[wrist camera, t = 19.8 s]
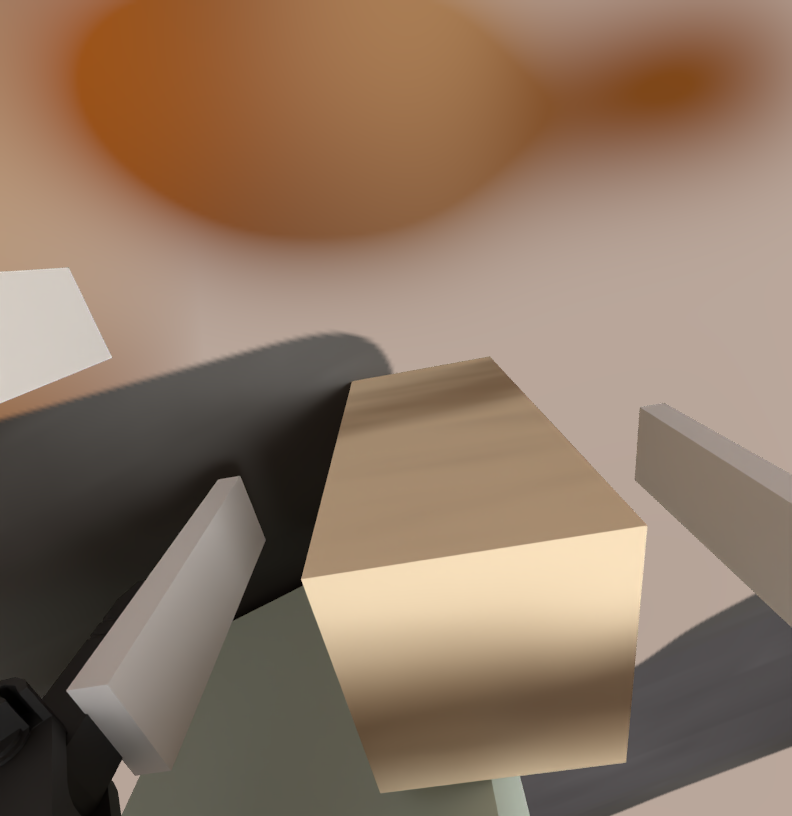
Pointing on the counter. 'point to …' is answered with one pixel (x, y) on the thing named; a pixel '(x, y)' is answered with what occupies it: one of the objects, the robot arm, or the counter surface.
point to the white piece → (44, 330)
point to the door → (290, 738)
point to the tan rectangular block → (473, 583)
